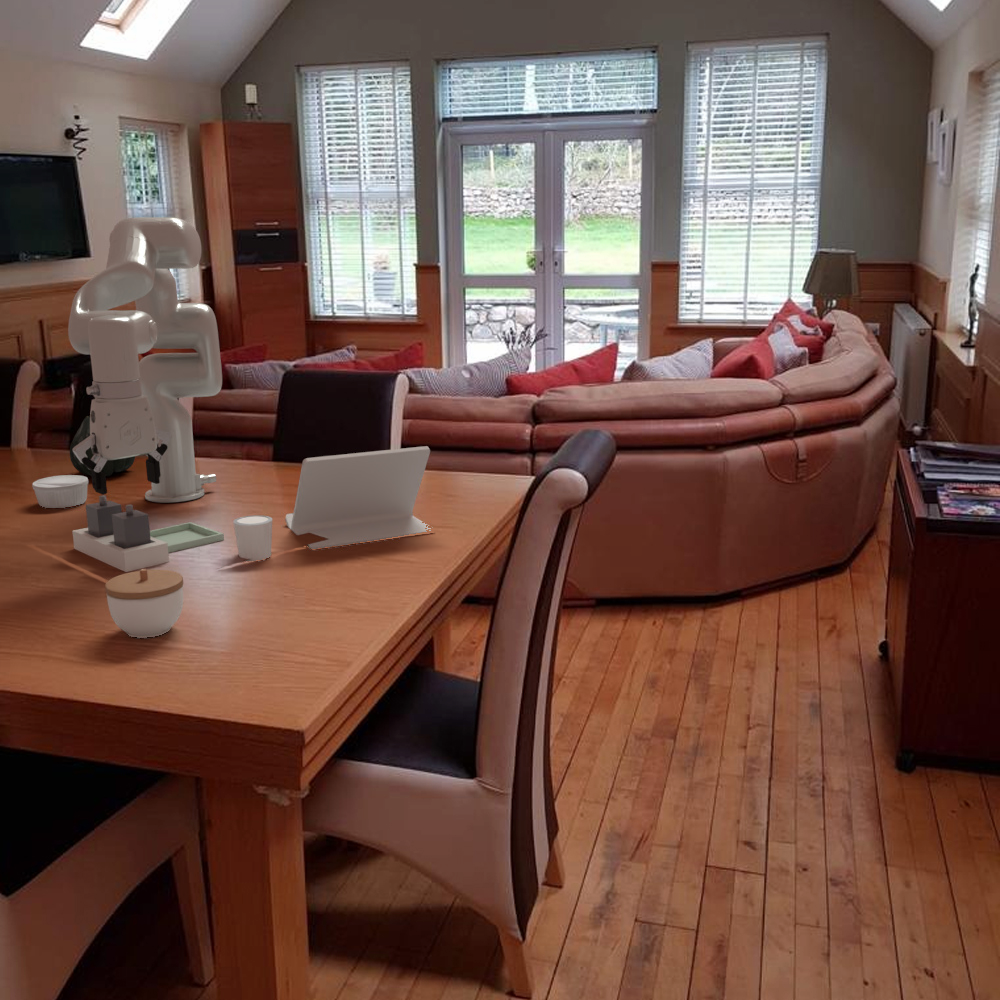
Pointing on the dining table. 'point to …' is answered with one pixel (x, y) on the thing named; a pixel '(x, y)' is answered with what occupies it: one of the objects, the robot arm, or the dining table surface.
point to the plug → (131, 528)
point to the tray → (186, 536)
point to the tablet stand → (359, 496)
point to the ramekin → (61, 491)
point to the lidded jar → (145, 601)
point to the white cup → (254, 537)
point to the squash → (109, 466)
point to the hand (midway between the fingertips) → (127, 487)
